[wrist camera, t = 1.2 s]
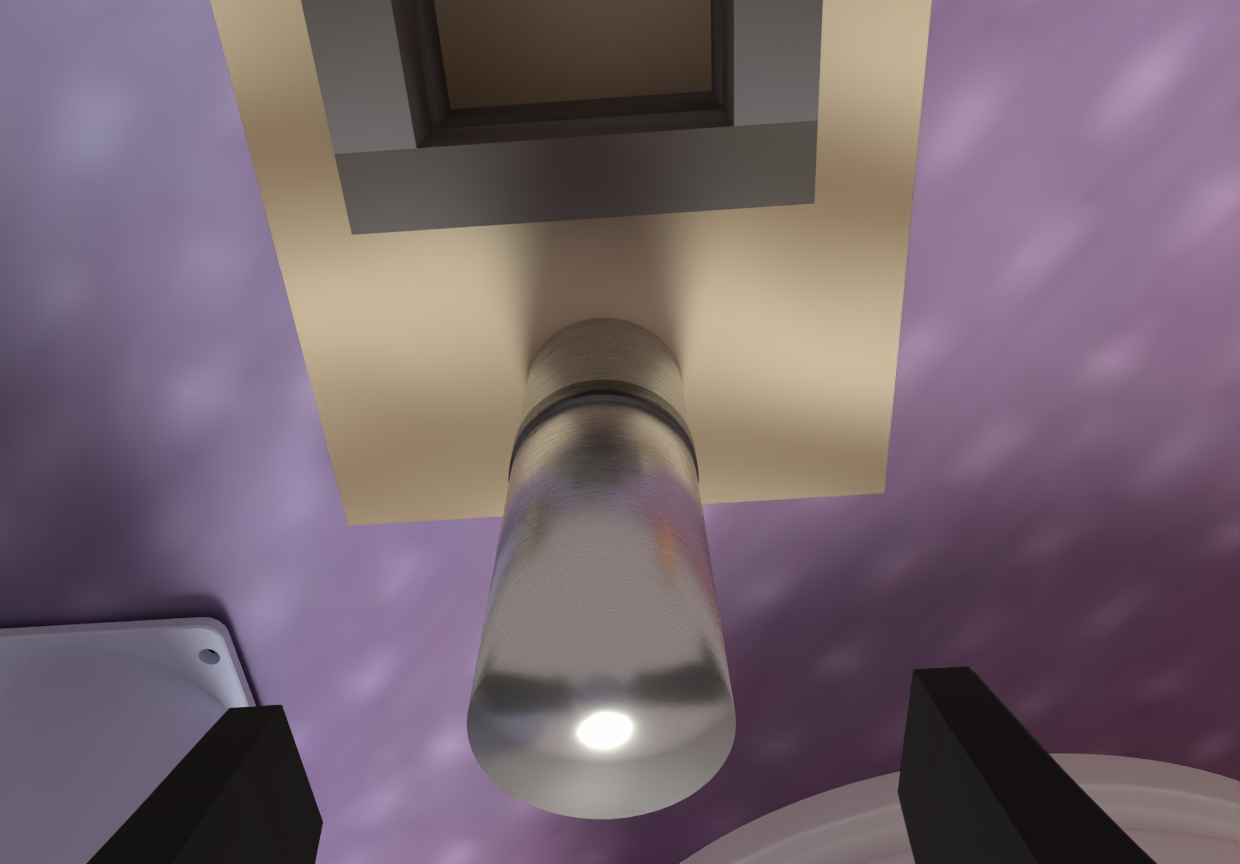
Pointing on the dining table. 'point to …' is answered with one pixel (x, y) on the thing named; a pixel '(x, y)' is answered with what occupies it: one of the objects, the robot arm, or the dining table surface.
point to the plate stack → (1122, 786)
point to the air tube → (602, 591)
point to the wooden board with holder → (587, 223)
